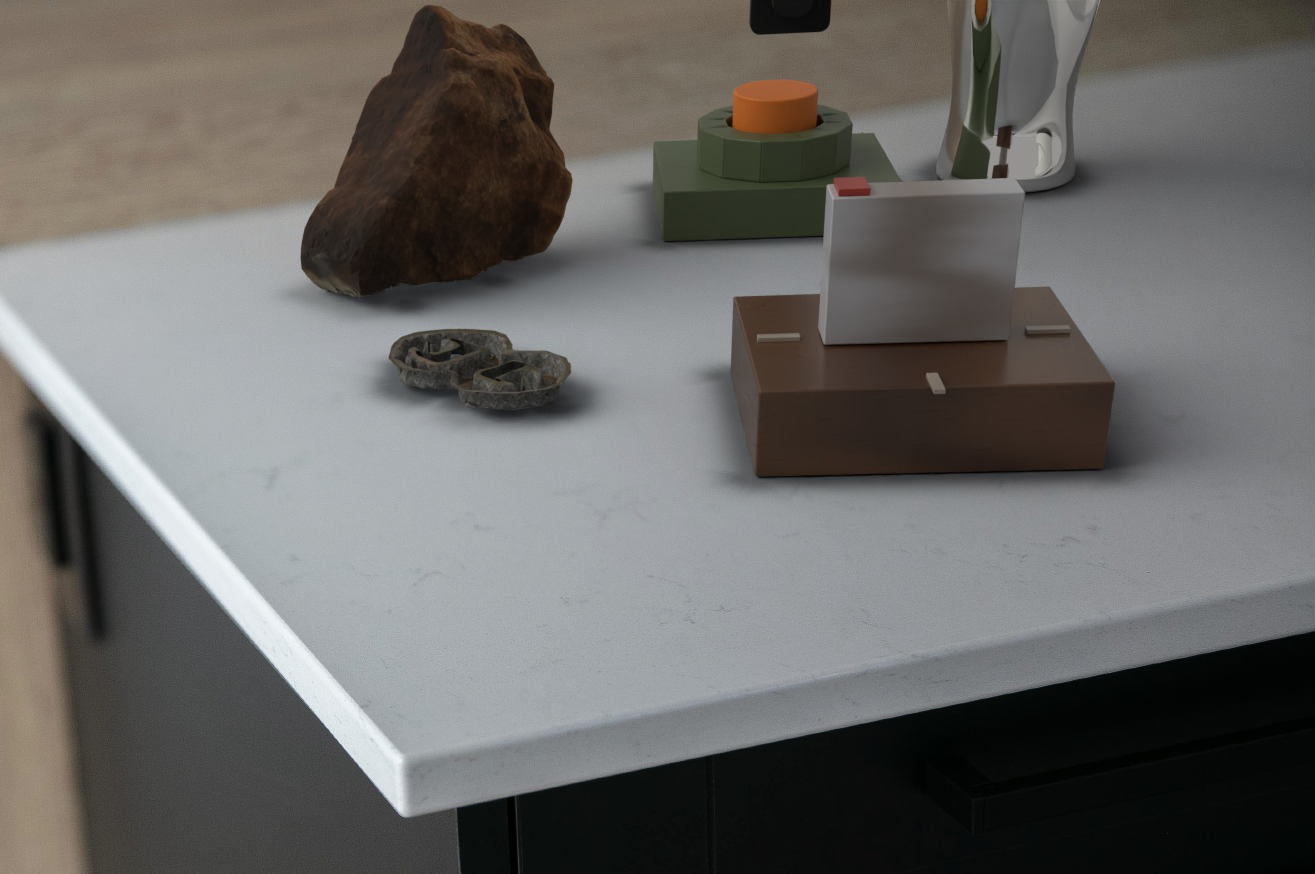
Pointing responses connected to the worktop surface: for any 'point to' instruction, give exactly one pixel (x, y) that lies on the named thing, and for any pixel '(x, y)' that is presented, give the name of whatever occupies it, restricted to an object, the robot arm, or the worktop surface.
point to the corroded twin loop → (479, 368)
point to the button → (775, 106)
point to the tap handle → (919, 260)
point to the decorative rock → (443, 165)
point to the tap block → (918, 395)
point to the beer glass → (1014, 89)
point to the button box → (759, 177)
